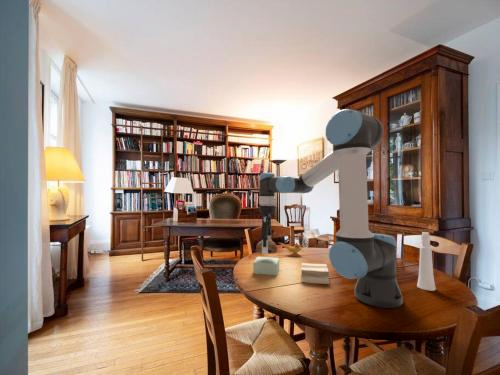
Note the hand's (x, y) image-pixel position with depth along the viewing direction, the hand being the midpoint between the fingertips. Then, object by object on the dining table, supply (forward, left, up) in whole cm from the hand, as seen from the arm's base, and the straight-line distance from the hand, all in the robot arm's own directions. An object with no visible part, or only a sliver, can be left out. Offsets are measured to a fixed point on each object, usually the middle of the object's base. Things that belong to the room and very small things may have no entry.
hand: (266, 251), depth 118 cm
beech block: (-6, -22, -9) cm, 25 cm away
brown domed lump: (0, 0, -1) cm, 1 cm away
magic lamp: (+33, -11, -10) cm, 37 cm away
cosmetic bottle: (-7, -65, -10) cm, 66 cm away
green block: (0, 0, -9) cm, 9 cm away
